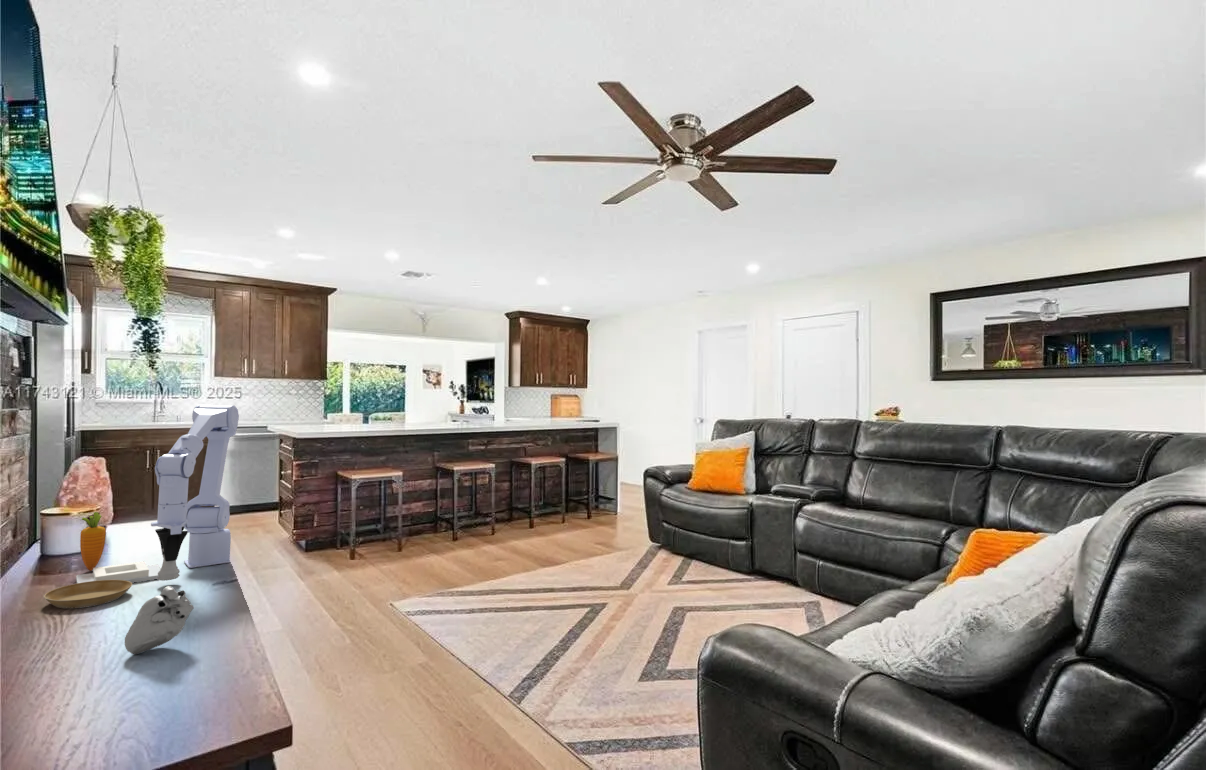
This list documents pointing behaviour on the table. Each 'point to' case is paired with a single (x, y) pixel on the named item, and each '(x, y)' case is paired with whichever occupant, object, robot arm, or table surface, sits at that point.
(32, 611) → the table surface
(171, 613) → the heart
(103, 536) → the carrot
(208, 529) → the robot arm
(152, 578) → the holder stand
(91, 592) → the plant saucer
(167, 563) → the rook chess piece
